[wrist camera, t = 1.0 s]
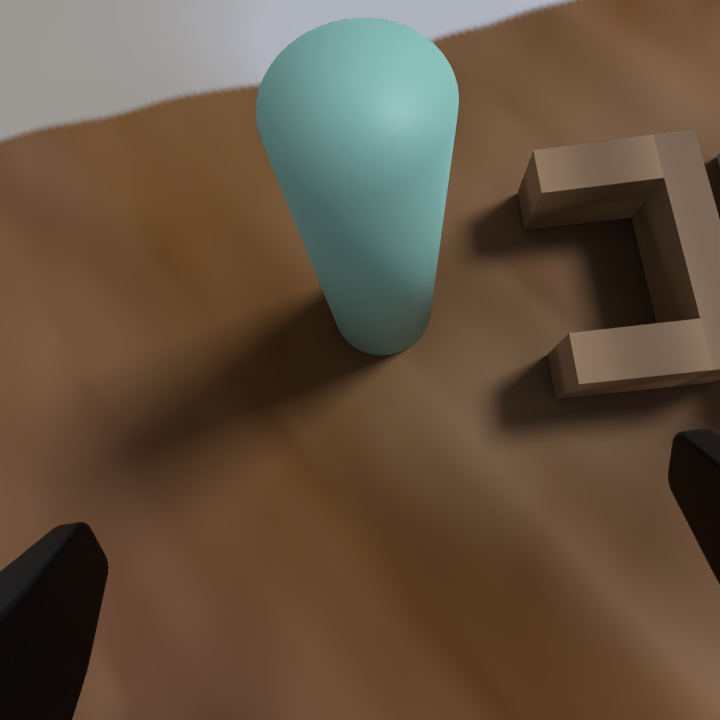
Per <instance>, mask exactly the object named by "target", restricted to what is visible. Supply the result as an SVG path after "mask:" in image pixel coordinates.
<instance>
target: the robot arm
mask: <svg viewBox="0 0 720 720" xmlns="http://www.w3.org/2000/svg"><path fill="white" fill-rule="evenodd" d="M668 481H669V486H670V488H671V491H672V493H673V495H674V497H675V499H676V501H677V503H678V505H679V507H680V509H681V511H682V513H683V515H684V516H685V518H686V520H687V522H688V524H689V526H690V528H691V530H692V532H693V534H694V536H695V538H696V540H697V542H698V544H699V546H700V548H701V550H702V552H703V554H704V556H705V558H706V559H707V561H708V563H709V565H710V567H711V569H712V571H713V573H714V575H715V576H716V578H717V580H718V582H719V584H720V434H718V433H716V432H713V431H711V430H708V429H695V430H689V431H682V432H679V433H677V434H676V435H675V436H674V438H673V442H672V449H671V456H670V463H669V470H668ZM107 576H108V561H107V558H106V555H105V554H104V552H103V550H102V548H101V546H100V544H99V543H98V541H97V539H96V537H95V535H94V533H93V532H92V530H91V528H90V527H89V525H87V524H86V523H83V522H77V523H71V524H64V525H60V526H57V527H55V528H54V529H52V530H51V531H50V532H49V533H47V534H46V535H45V536H44V537H42V538H41V539H40V540H39V541H38V542H36V543H35V544H34V545H33V546H31V547H30V548H29V549H28V550H26V551H25V552H24V553H23V554H21V555H20V556H19V557H18V558H17V559H15V560H14V561H13V562H12V563H10V564H9V565H8V566H7V567H5V568H4V569H3V570H2V571H0V720H72V718H73V715H74V712H75V709H76V706H77V702H78V699H79V696H80V693H81V690H82V686H83V683H84V679H85V676H86V673H87V669H88V665H89V661H90V657H91V652H92V647H93V643H94V638H95V633H96V628H97V624H98V619H99V614H100V609H101V604H102V600H103V595H104V590H105V585H106V581H107Z"/></svg>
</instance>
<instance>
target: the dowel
mask: <svg viewBox="0 0 720 720" xmlns="http://www.w3.org/2000/svg"><path fill="white" fill-rule="evenodd" d="M458 106H459V94H458V86H457V82H456V79H455V75H454V73H453V70H452V68H451V66H450V64H449V62H448V61H447V59H446V58H445V56H444V55H443V53H442V52H441V51H440V50H439V49H438V48H437V47H436V45H434V44H433V43H432V42H431V41H430V40H429V39H427V38H426V37H425V36H423V35H421V34H420V33H418V32H417V31H415V30H413V29H411V28H409V27H407V26H405V25H402V24H398V23H396V22H392V21H388V20H383V19H374V18H353V19H344V20H340V21H336V22H331V23H328V24H325V25H322V26H320V27H317V28H315V29H313V30H311V31H309V32H307V33H305V34H304V35H302V36H301V37H299V38H297V39H296V40H295V41H293V42H292V43H291V44H289V45H288V46H287V47H286V48H285V49H284V50H283V51H282V52H281V53H280V54H279V55H278V56H277V57H276V59H275V60H274V61H273V63H272V64H271V65H270V67H269V69H268V70H267V72H266V74H265V76H264V78H263V80H262V83H261V85H260V88H259V92H258V96H257V102H256V121H257V127H258V132H259V135H260V137H261V140H262V143H263V145H264V148H265V150H266V153H267V155H268V158H269V160H270V163H271V165H272V168H273V170H274V172H275V175H276V177H277V180H278V182H279V185H280V187H281V190H282V192H283V195H284V197H285V199H286V202H287V204H288V207H289V209H290V212H291V214H292V217H293V219H294V222H295V224H296V226H297V229H298V231H299V234H300V236H301V239H302V241H303V244H304V246H305V248H306V251H307V253H308V256H309V258H310V261H311V263H312V266H313V268H314V271H315V273H316V275H317V278H318V280H319V283H320V285H321V288H322V290H323V293H324V295H325V298H326V300H327V302H328V305H329V307H330V310H331V312H332V315H333V317H334V320H335V322H336V325H337V327H338V329H339V331H340V333H341V334H342V336H343V337H344V339H345V340H346V341H347V342H348V343H349V344H351V345H352V346H353V347H355V348H356V349H358V350H360V351H362V352H364V353H368V354H371V355H380V356H384V355H392V354H396V353H399V352H402V351H404V350H406V349H408V348H409V347H410V346H412V345H413V344H414V343H415V342H417V341H418V340H419V338H420V337H421V336H422V335H423V333H424V331H425V330H426V328H427V325H428V322H429V319H430V313H431V306H432V299H433V291H434V284H435V277H436V269H437V262H438V255H439V247H440V240H441V233H442V225H443V218H444V211H445V203H446V196H447V189H448V181H449V174H450V167H451V159H452V152H453V145H454V137H455V130H456V123H457V115H458Z"/></svg>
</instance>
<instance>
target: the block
mask: <svg viewBox="0 0 720 720" xmlns="http://www.w3.org/2000/svg"><path fill="white" fill-rule="evenodd" d="M518 196H519V202H520V207H521V213H522V218H523V224H524V229H525V231H526V230H535V229H543V228H551V227H559V226H567V225H575V224H584V223H592V222H600V221H608V220H616V219H624V218H632V222H633V226H634V230H635V234H636V238H637V243H638V247H639V251H640V255H641V260H642V264H643V268H644V272H645V277H646V281H647V285H648V289H649V294H650V298H651V302H652V306H653V311H654V315H655V319H656V323H655V324H646V325H637V326H628V327H619V328H610V329H601V330H593V331H584V332H575V333H569V334H568V335H567V336H566V337H565V338H564V339H563V340H562V341H561V342H560V343H559V344H558V345H557V346H556V347H555V348H554V349H553V350H552V351H551V352H550V353H549V354H547V355H548V360H549V366H550V371H551V376H552V382H553V387H554V393H555V398H556V399H562V398H571V397H580V396H590V395H599V394H609V393H618V392H628V391H637V390H647V389H656V388H666V387H675V386H685V385H694V384H704V383H712V382H715V381H717V380H720V219H719V215H718V212H717V208H716V204H715V201H714V197H713V194H712V190H711V186H710V183H709V179H708V176H707V172H706V169H705V165H704V161H703V158H702V154H701V151H700V147H699V143H698V140H697V136H696V133H695V129H693V130H685V131H677V132H670V133H662V134H654V135H647V136H639V137H631V138H624V139H616V140H608V141H601V142H593V143H585V144H578V145H570V146H562V147H555V148H547V149H539V150H533V153H532V156H531V158H530V161H529V164H528V166H527V169H526V172H525V174H524V177H523V180H522V183H521V185H520V188H519V191H518Z"/></svg>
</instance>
